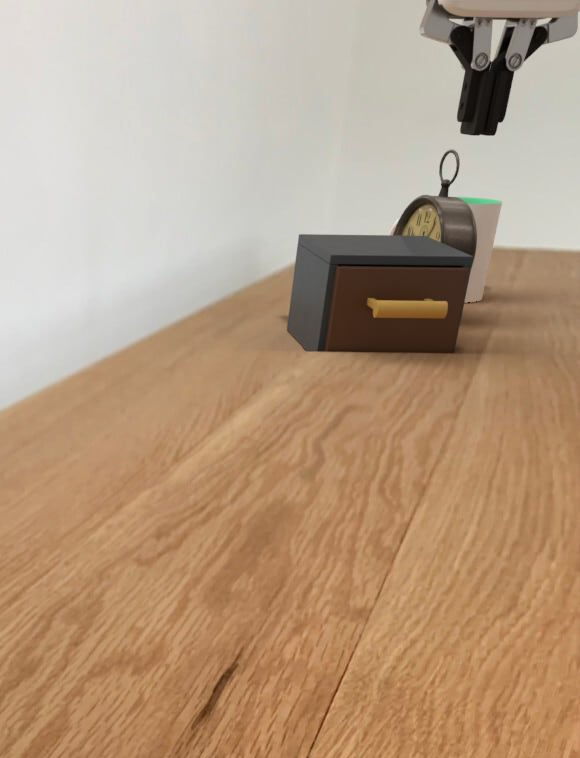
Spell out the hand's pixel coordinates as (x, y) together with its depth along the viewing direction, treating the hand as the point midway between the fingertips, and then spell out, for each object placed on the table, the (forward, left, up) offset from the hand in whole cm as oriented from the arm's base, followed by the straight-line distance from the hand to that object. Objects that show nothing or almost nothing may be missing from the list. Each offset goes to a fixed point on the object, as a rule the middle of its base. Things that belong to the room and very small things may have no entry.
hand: (477, 133), depth 81 cm
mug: (-15, -49, -19) cm, 55 cm away
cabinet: (0, -20, -19) cm, 28 cm away
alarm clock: (-10, -35, -19) cm, 41 cm away
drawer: (0, -16, -18) cm, 24 cm away
